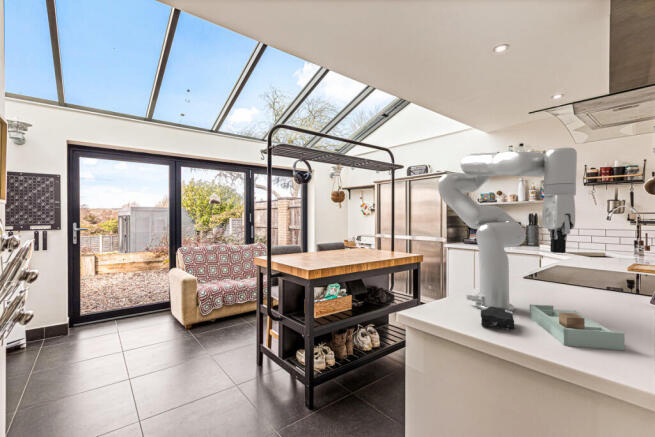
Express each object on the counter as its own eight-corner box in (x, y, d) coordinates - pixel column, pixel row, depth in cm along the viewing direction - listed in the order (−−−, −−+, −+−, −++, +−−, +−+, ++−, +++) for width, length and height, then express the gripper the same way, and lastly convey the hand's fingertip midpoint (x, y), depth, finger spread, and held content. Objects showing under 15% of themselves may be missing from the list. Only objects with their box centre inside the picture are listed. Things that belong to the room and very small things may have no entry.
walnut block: (566, 332, 78) (566, 317, 78) (559, 326, 82) (559, 312, 82) (584, 333, 77) (584, 318, 77) (576, 327, 81) (575, 313, 81)
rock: (481, 318, 98) (481, 301, 98) (513, 322, 94) (512, 304, 94) (480, 329, 89) (480, 310, 89) (515, 334, 85) (515, 314, 85)
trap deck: (563, 345, 77) (563, 329, 77) (529, 317, 98) (529, 304, 98) (624, 350, 74) (624, 333, 74) (575, 320, 95) (575, 306, 95)
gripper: (534, 192, 95) (533, 248, 96) (556, 189, 81) (555, 256, 81) (561, 191, 93) (560, 249, 94) (589, 189, 79) (587, 257, 79)
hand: (557, 252), depth 87 cm, fingers closed
